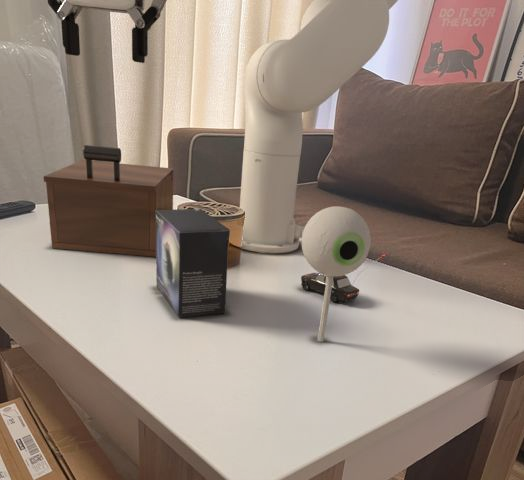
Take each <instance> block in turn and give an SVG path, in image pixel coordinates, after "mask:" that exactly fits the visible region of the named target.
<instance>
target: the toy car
mask: <svg viewBox="0 0 524 480" xmlns="http://www.w3.org/2000/svg"><path fill="white" fill-rule="evenodd" d="M386 256H387V253H385V254H382V255H381V256H380V257H379V258H378V259H376V260H374V261H373V262H372V263H370V264H369V265H368V266H366V267H365V268H364V270H365V269H367V268H368V267H370V266H371V265H372V264H373V263H375V262H376V261H378V260H379V259H381V258H382V259H383V258H384V257H386ZM361 273H363V270H362V271H360V272H359V273H358V275H360V274H361ZM357 277H358V276H356V277H355V279H354V280H353V282H352V283H351V281H350V279H349V277H348V276H347V275H343V276H334V277H333V283H332V289H331V296H330V302H332V303H336V302H338V301H341V302H348V301H351V300H355V299H357V298H358V296H359V293H360V288H358V287H356V286H354V283H355V281H356V279H357ZM300 281H301V284H300V286H301V288H302V289H303V291H309V290H311V289H312V290H314V291H316V292H319V293H321V294H323V295H324V294H325V287H326V281H327V275H324V274H322V273H319V272H311V273H306V274H303V275H301V276H300Z"/></svg>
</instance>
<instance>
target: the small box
mask: <svg viewBox="0 0 524 480" xmlns="http://www.w3.org/2000/svg"><path fill="white" fill-rule="evenodd" d="M155 212H156V257H155V262H156V266H155V267H156V269H155V270H156V288H157V290H158V291H159V293H160V294H161V295H162V297H163V298H164V299H165V301H166V302H167V303H168V305H169V306H170V308H171V309H172V310H173V312H174V313H175V315H176V316H177V318H189V317H200V316H210V315H211V316H212V315H218V314H225V313H226V312H227V281H228V259H229V258H228V256H229V243H230V242H229V237H230V233H231V229H229V228H228V227H227V226H226V225H224V224H222V223H221V222H220V221H218V220H217V219H216V218H214V217H213V216H212V215H210V214H209V213H207V212H206V211H205V210H203V209H202V208H183V209H182V208H181V209H180V208H179V209H173V210H156V211H155Z"/></svg>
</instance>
